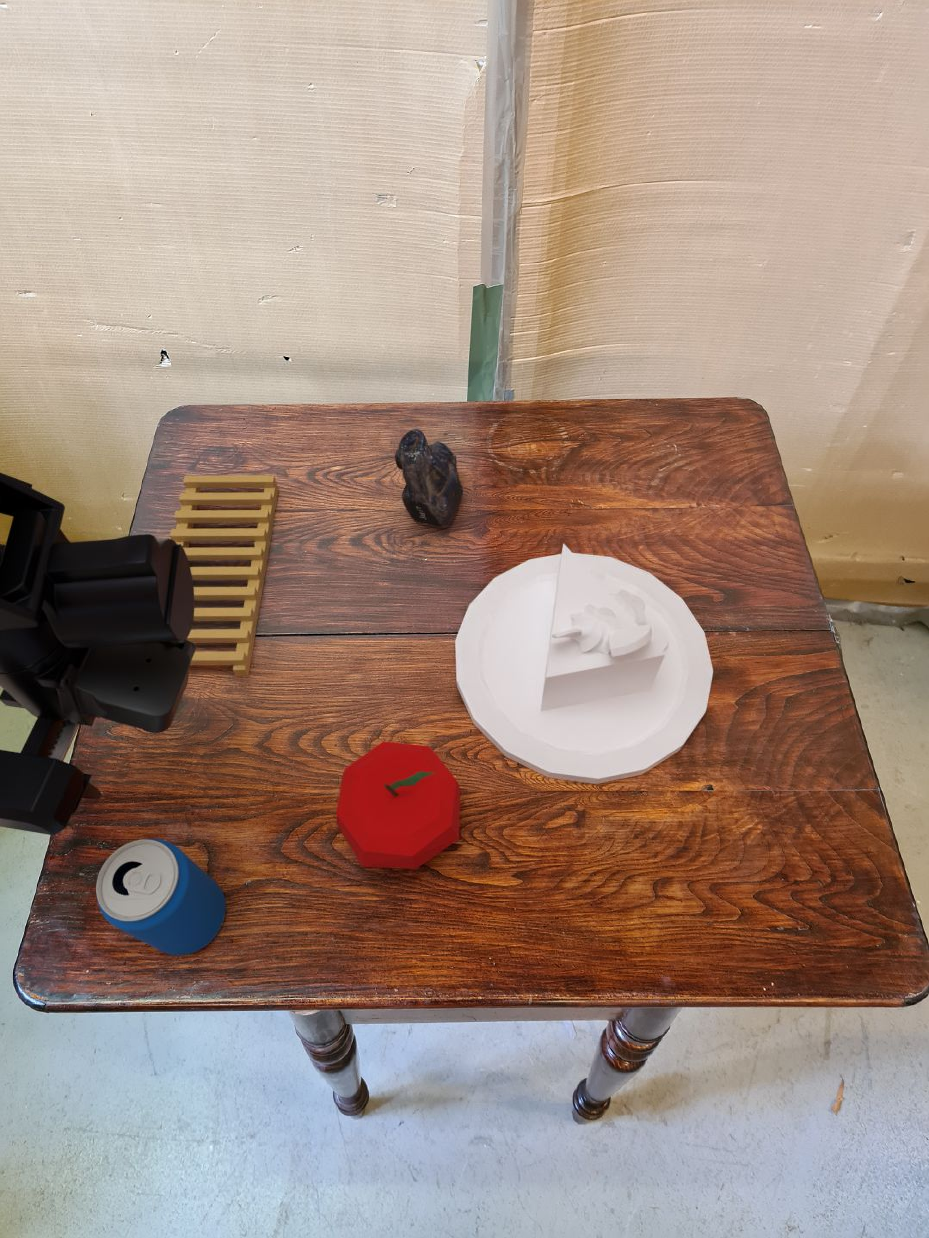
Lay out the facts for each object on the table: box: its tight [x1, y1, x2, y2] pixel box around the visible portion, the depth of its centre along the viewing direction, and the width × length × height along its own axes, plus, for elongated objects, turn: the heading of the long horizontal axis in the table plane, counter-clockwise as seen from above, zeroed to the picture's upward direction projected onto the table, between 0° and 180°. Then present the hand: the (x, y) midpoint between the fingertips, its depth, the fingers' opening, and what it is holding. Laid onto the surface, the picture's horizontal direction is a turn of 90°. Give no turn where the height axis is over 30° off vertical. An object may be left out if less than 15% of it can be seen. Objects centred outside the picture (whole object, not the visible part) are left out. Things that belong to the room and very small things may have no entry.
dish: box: [454, 542, 714, 785], centre depth 73 cm, size 25×25×11 cm
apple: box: [335, 741, 462, 871], centre depth 66 cm, size 11×11×10 cm
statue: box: [394, 428, 464, 529], centre depth 82 cm, size 6×12×15 cm, turn 161°
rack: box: [169, 474, 280, 678], centre depth 83 cm, size 24×10×2 cm, turn 0°
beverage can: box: [95, 838, 227, 957], centre depth 61 cm, size 6×6×12 cm
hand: (119, 737), depth 60 cm, fingers open, 9 cm apart
